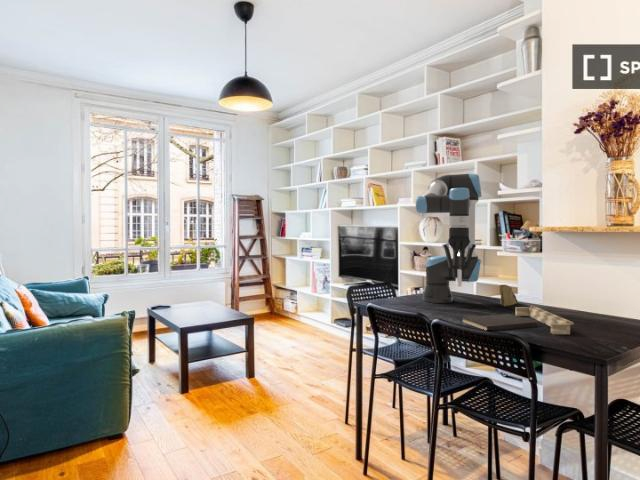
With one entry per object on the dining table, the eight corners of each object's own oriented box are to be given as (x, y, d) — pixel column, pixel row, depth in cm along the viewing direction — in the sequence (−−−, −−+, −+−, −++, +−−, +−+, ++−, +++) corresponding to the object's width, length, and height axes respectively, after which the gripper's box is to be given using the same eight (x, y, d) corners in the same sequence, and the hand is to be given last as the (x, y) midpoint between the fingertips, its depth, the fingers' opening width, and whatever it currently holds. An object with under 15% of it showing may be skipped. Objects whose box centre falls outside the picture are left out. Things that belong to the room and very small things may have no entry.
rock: (514, 297, 217) (494, 294, 217) (520, 285, 212) (501, 283, 212) (520, 313, 209) (500, 311, 209) (527, 301, 203) (507, 299, 203)
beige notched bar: (515, 315, 186) (515, 305, 186) (532, 315, 186) (533, 305, 186) (552, 334, 155) (552, 322, 155) (573, 334, 155) (573, 322, 155)
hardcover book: (461, 323, 176) (461, 317, 176) (508, 319, 182) (508, 313, 182) (487, 332, 160) (487, 326, 160) (537, 327, 167) (537, 322, 167)
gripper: (445, 227, 166) (444, 287, 167) (478, 226, 166) (478, 287, 167) (440, 226, 174) (439, 284, 175) (472, 226, 173) (471, 284, 174)
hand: (458, 285), depth 171 cm, fingers closed
